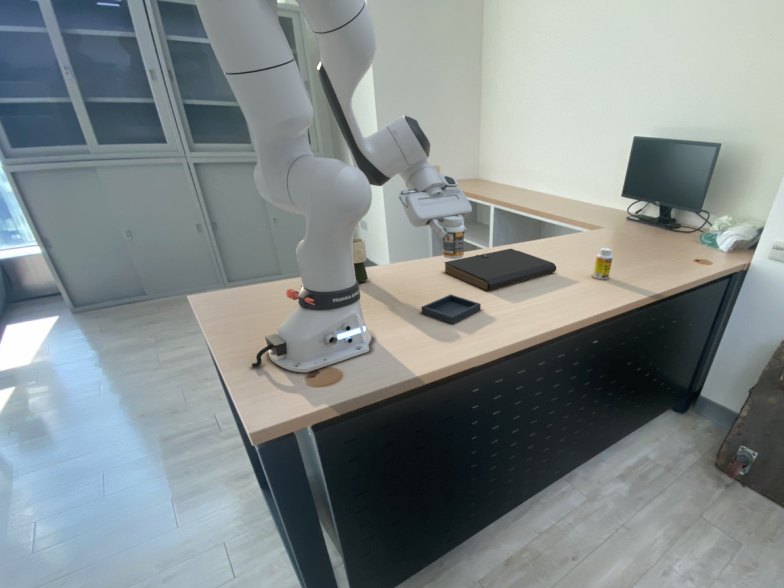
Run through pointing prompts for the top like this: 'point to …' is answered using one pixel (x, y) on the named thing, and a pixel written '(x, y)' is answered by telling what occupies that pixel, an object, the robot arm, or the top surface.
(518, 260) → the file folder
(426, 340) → the top surface
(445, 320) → the tray
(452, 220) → the pill bottle
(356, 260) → the character mug
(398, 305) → the top surface
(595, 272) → the supplement bottle
